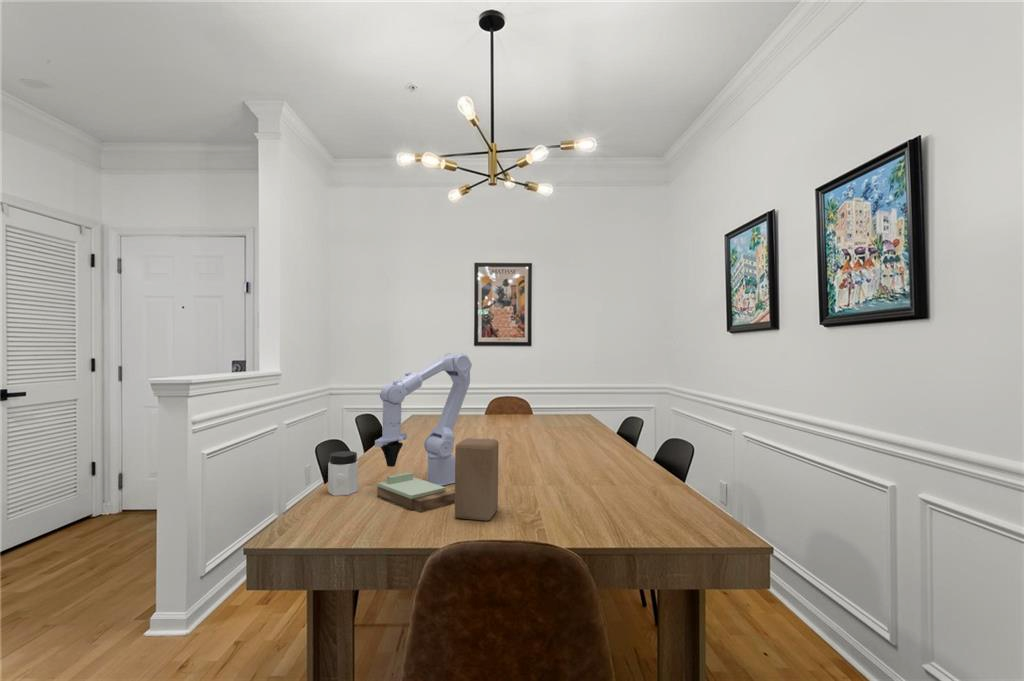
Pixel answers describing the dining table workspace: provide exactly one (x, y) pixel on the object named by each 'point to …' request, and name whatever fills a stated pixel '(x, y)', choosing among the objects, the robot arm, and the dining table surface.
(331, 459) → the jar
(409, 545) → the dining table surface
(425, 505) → the brown wooden tray
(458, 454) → the block
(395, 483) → the lid
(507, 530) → the dining table surface
